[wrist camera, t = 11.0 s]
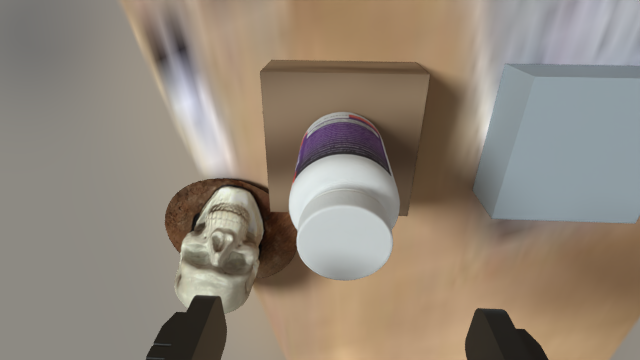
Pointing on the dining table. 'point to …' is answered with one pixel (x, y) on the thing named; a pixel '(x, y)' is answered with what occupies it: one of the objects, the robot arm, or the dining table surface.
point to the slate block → (563, 145)
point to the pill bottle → (343, 198)
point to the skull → (226, 240)
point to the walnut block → (341, 96)
